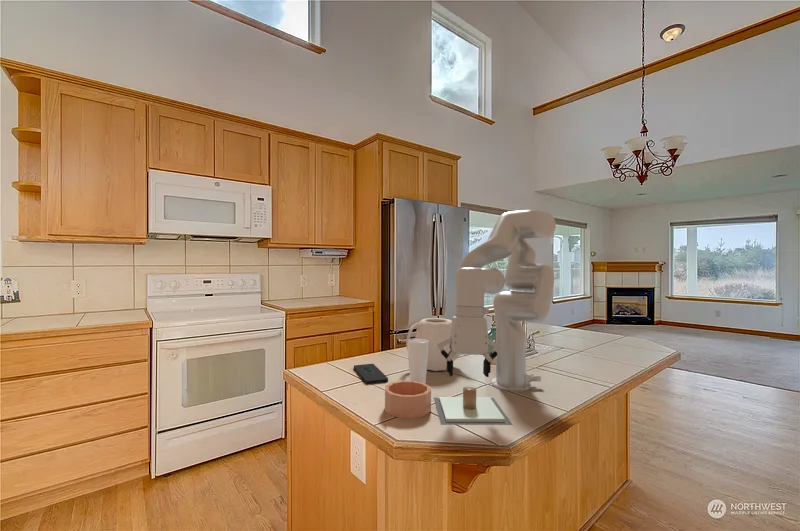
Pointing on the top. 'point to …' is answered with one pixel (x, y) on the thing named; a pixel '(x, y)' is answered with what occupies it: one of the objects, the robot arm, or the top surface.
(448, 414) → the cover sheet
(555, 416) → the top surface
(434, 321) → the watering can
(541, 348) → the top surface
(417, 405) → the bowl
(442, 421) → the mat
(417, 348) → the drinking glass
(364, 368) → the smart home device
